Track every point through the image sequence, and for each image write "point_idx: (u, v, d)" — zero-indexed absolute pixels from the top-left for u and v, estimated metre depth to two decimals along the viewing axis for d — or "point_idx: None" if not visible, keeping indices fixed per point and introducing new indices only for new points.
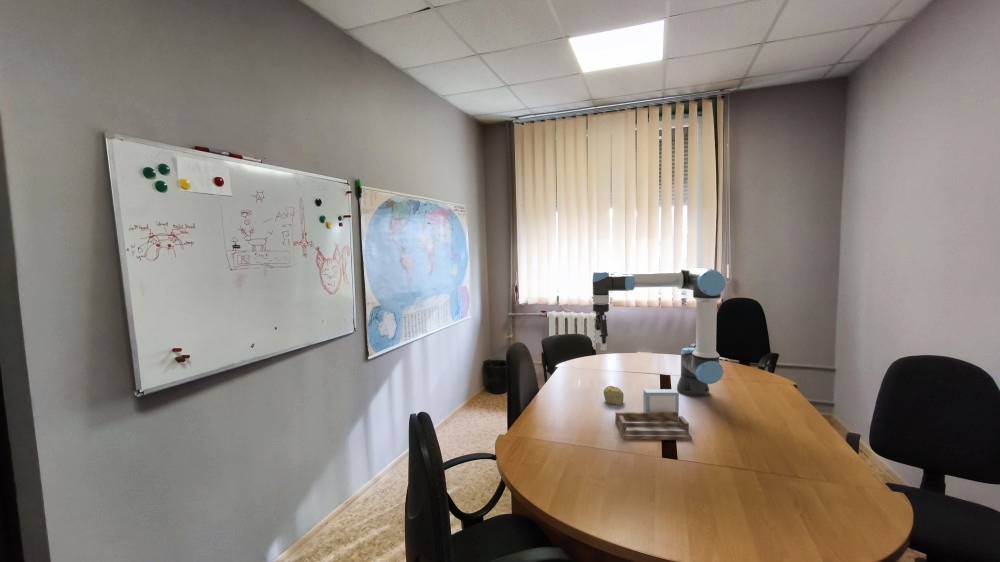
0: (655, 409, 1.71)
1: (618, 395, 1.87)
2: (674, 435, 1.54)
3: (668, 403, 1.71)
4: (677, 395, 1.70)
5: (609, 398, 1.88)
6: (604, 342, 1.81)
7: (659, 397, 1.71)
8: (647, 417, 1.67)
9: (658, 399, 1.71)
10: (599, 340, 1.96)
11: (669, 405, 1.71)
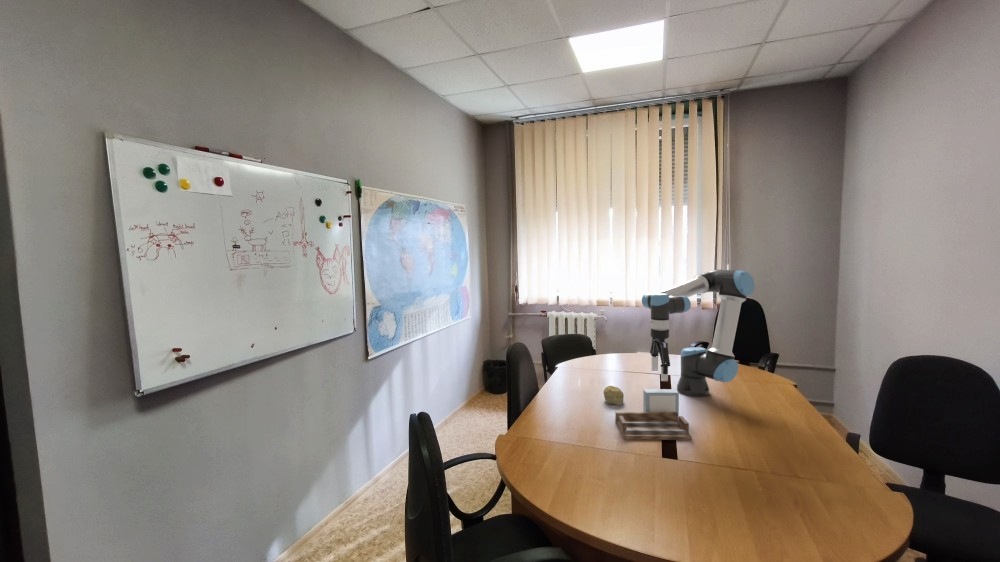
0: (655, 409, 1.71)
1: (618, 395, 1.87)
2: (674, 435, 1.54)
3: (668, 403, 1.71)
4: (677, 395, 1.70)
5: (609, 398, 1.88)
6: (665, 372, 1.64)
7: (659, 397, 1.71)
8: (647, 417, 1.67)
9: (658, 399, 1.71)
10: (655, 368, 1.79)
11: (669, 405, 1.71)
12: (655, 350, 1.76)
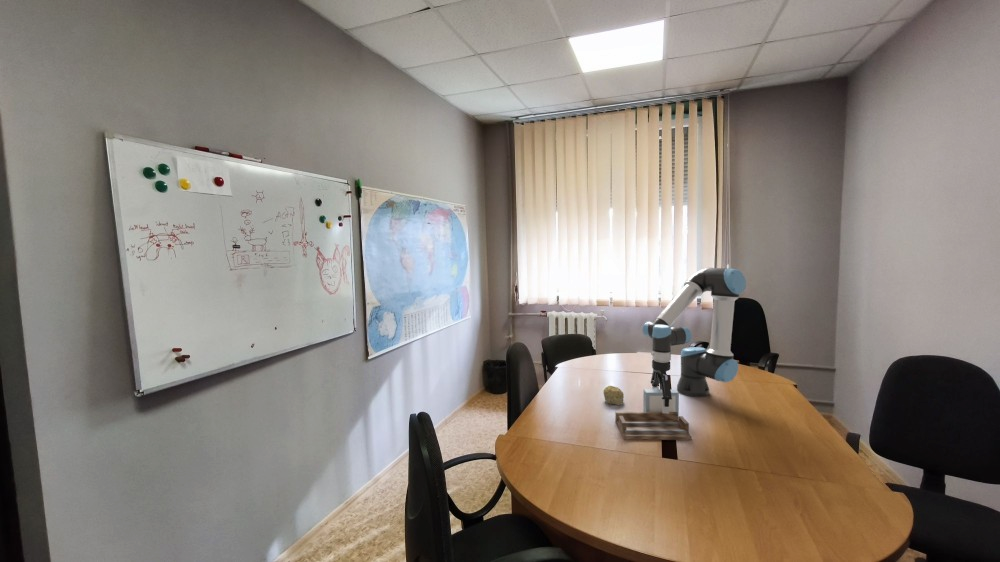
0: (655, 409, 1.71)
1: (618, 395, 1.87)
2: (674, 435, 1.54)
3: None
4: (677, 395, 1.70)
5: (609, 398, 1.88)
6: (667, 405, 1.65)
7: (659, 397, 1.71)
8: (647, 417, 1.67)
9: (658, 399, 1.71)
10: None
11: (669, 405, 1.71)
12: (656, 381, 1.77)
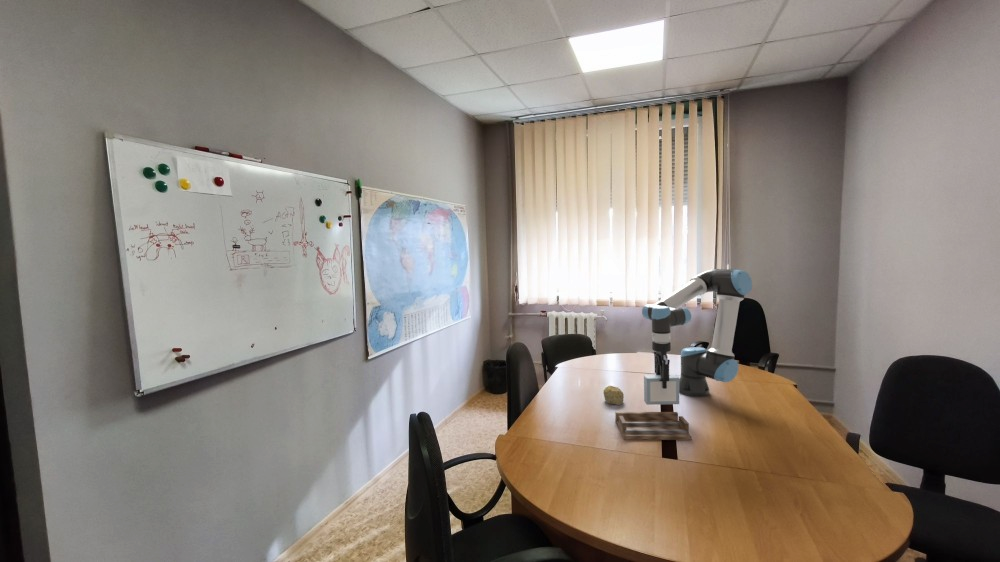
0: (655, 394, 1.71)
1: (618, 395, 1.87)
2: (674, 435, 1.54)
3: (669, 388, 1.70)
4: (678, 380, 1.70)
5: (609, 398, 1.88)
6: (665, 387, 1.69)
7: None
8: (647, 417, 1.67)
9: (659, 385, 1.71)
10: None
11: (670, 390, 1.70)
12: (659, 366, 1.74)
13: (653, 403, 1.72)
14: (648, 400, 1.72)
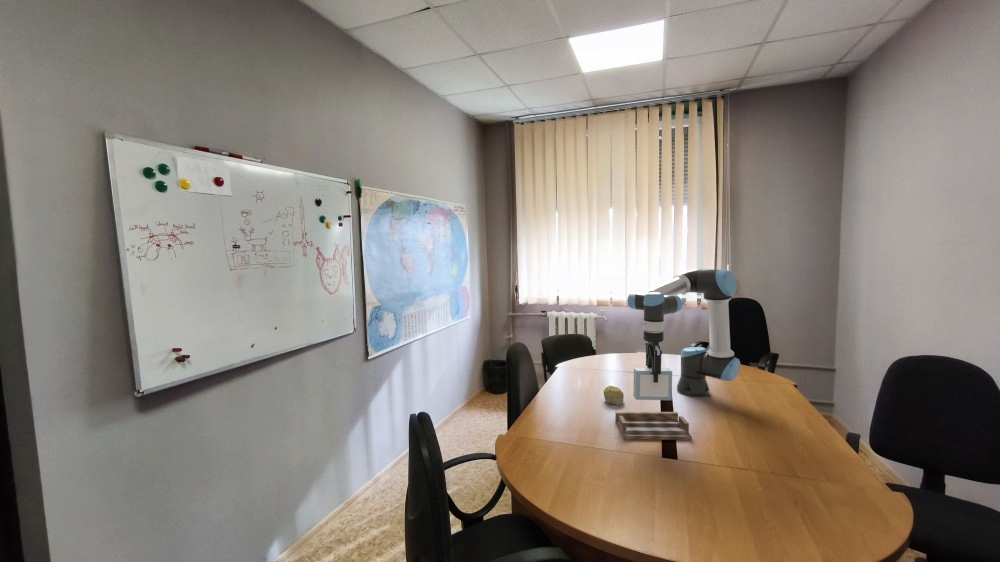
0: (646, 389, 1.56)
1: (618, 395, 1.87)
2: (674, 435, 1.54)
3: (660, 383, 1.56)
4: (670, 374, 1.55)
5: (609, 398, 1.88)
6: (656, 381, 1.54)
7: None
8: (647, 417, 1.67)
9: (649, 378, 1.56)
10: None
11: (661, 385, 1.56)
12: (650, 358, 1.59)
13: (643, 398, 1.57)
14: (637, 395, 1.57)
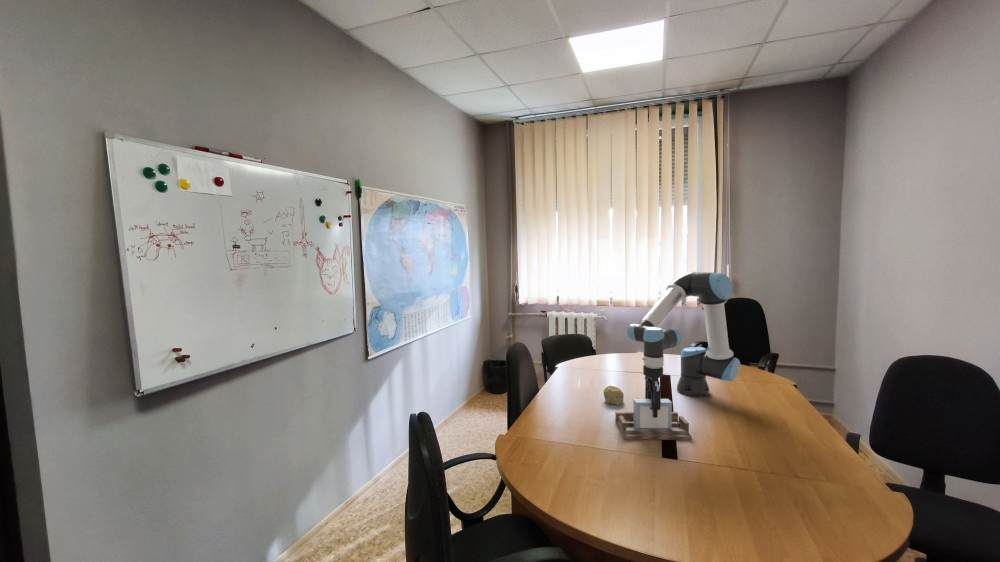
0: (646, 420, 1.57)
1: (618, 395, 1.87)
2: (674, 435, 1.54)
3: (660, 414, 1.56)
4: (670, 405, 1.56)
5: (609, 398, 1.88)
6: (655, 416, 1.55)
7: (650, 407, 1.56)
8: None
9: (649, 410, 1.57)
10: None
11: (661, 416, 1.56)
12: (650, 392, 1.60)
13: None
14: (637, 426, 1.58)
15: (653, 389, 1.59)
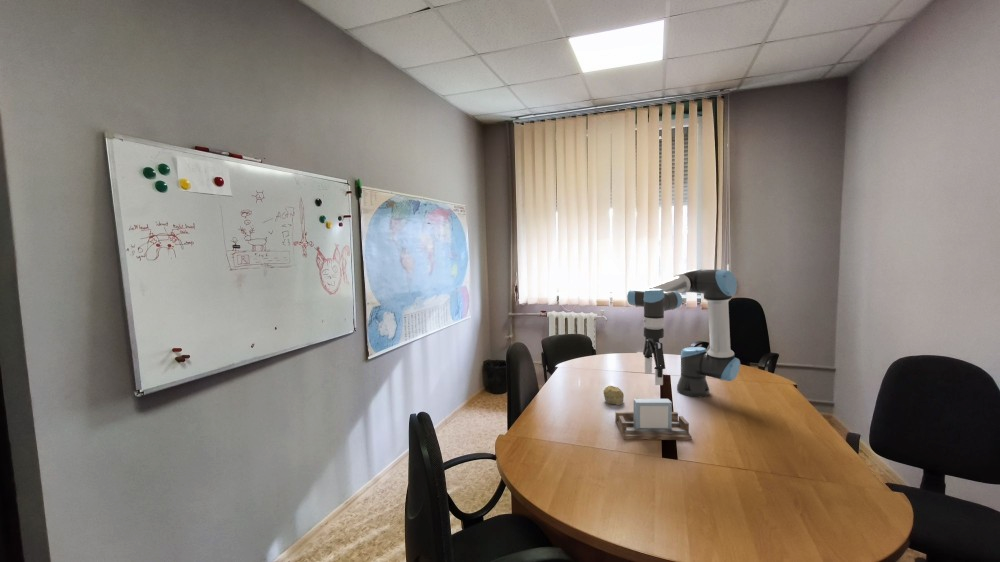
0: (646, 420, 1.57)
1: (618, 395, 1.87)
2: (674, 435, 1.54)
3: (660, 414, 1.56)
4: (670, 405, 1.56)
5: (609, 398, 1.88)
6: (660, 376, 1.49)
7: (650, 407, 1.56)
8: None
9: (649, 410, 1.56)
10: (649, 370, 1.64)
11: (661, 416, 1.56)
12: (649, 351, 1.61)
13: None
14: (637, 426, 1.58)
15: None
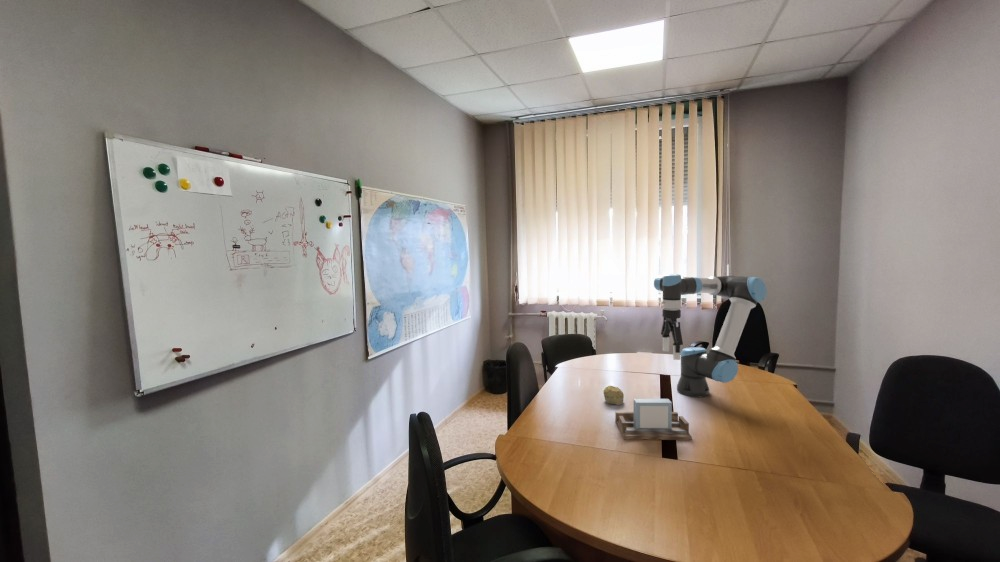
0: (646, 420, 1.57)
1: (618, 395, 1.87)
2: (674, 435, 1.54)
3: (660, 414, 1.56)
4: (670, 405, 1.56)
5: (609, 398, 1.88)
6: (678, 351, 1.67)
7: (650, 407, 1.56)
8: None
9: (649, 410, 1.56)
10: (667, 348, 1.82)
11: (661, 416, 1.56)
12: (666, 330, 1.79)
13: None
14: (637, 426, 1.58)
15: (670, 328, 1.78)
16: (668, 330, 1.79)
